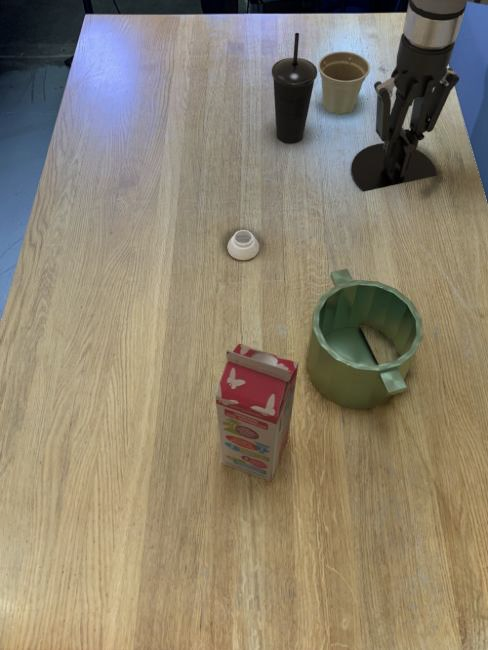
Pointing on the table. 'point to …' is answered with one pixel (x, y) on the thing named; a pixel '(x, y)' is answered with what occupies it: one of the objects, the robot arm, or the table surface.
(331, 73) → the flower pot
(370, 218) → the table surface
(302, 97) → the drinking cup
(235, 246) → the white jar
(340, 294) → the pot
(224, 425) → the juice carton
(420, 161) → the lid
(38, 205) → the table surface
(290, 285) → the table surface
